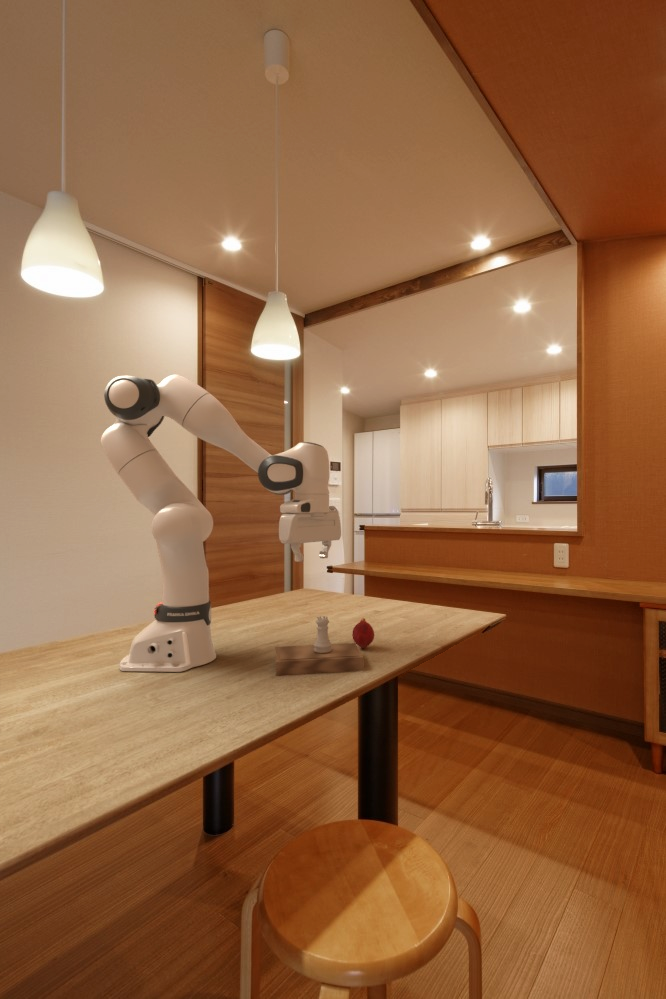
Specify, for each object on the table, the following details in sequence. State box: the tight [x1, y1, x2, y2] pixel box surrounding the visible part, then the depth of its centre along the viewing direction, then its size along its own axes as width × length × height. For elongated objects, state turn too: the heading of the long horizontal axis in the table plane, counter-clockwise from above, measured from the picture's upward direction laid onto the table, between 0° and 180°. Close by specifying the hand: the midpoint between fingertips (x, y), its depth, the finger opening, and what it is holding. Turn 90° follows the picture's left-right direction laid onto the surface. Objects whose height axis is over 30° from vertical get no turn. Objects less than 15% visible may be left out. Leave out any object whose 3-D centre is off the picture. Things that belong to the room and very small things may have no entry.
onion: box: [351, 617, 375, 650], centre depth 130 cm, size 6×6×8 cm
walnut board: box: [275, 642, 365, 676], centre depth 118 cm, size 20×12×3 cm, turn 97°
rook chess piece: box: [313, 615, 333, 654], centre depth 118 cm, size 4×4×8 cm
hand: (311, 559), depth 127 cm, fingers open, 8 cm apart
